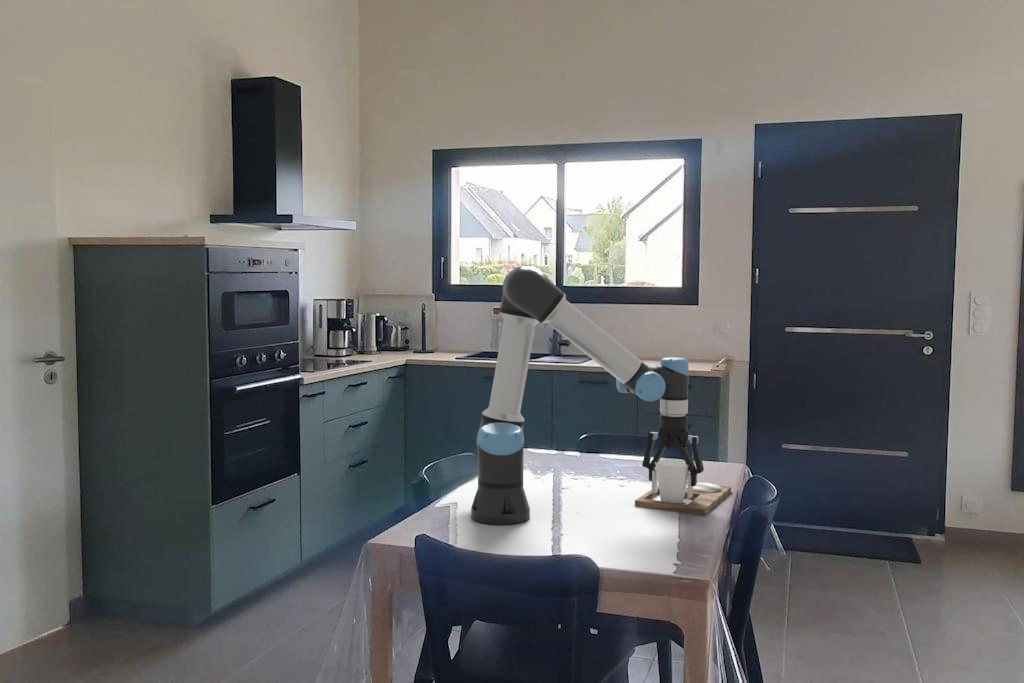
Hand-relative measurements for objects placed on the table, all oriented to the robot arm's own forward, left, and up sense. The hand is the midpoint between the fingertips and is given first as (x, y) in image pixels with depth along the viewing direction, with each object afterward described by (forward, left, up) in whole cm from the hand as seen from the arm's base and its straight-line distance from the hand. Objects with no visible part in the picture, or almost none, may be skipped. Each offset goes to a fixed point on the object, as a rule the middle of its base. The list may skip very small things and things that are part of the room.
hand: (672, 495), depth 240 cm
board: (+5, -2, -2) cm, 6 cm away
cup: (0, 0, -2) cm, 2 cm away
